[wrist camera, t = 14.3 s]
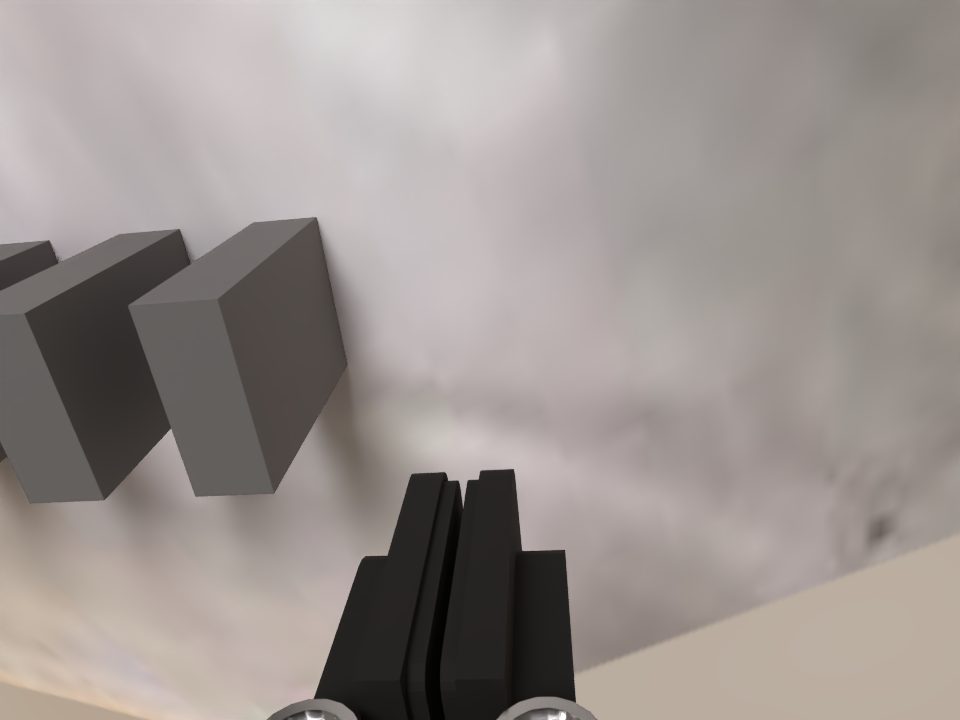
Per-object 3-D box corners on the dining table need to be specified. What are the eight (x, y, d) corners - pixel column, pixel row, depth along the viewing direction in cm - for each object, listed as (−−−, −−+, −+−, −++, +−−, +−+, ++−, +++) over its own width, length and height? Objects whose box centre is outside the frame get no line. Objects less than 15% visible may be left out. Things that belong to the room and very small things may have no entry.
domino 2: (316, 217, 20) (217, 299, 14) (347, 364, 22) (274, 493, 16) (253, 222, 20) (128, 305, 14) (290, 368, 22) (195, 496, 16)
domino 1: (179, 229, 21) (24, 313, 14) (222, 372, 23) (104, 500, 16) (119, 234, 21) (-60, 319, 14) (167, 375, 23) (30, 503, 17)
